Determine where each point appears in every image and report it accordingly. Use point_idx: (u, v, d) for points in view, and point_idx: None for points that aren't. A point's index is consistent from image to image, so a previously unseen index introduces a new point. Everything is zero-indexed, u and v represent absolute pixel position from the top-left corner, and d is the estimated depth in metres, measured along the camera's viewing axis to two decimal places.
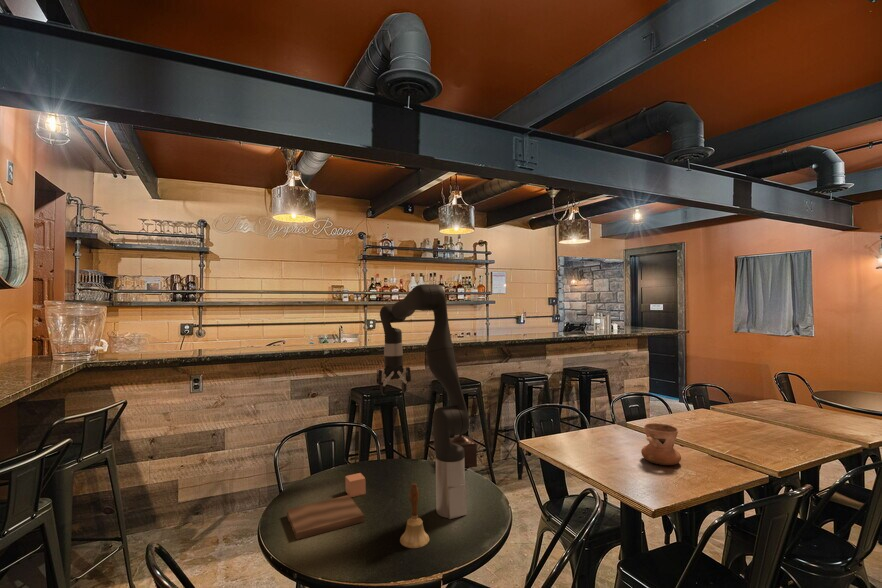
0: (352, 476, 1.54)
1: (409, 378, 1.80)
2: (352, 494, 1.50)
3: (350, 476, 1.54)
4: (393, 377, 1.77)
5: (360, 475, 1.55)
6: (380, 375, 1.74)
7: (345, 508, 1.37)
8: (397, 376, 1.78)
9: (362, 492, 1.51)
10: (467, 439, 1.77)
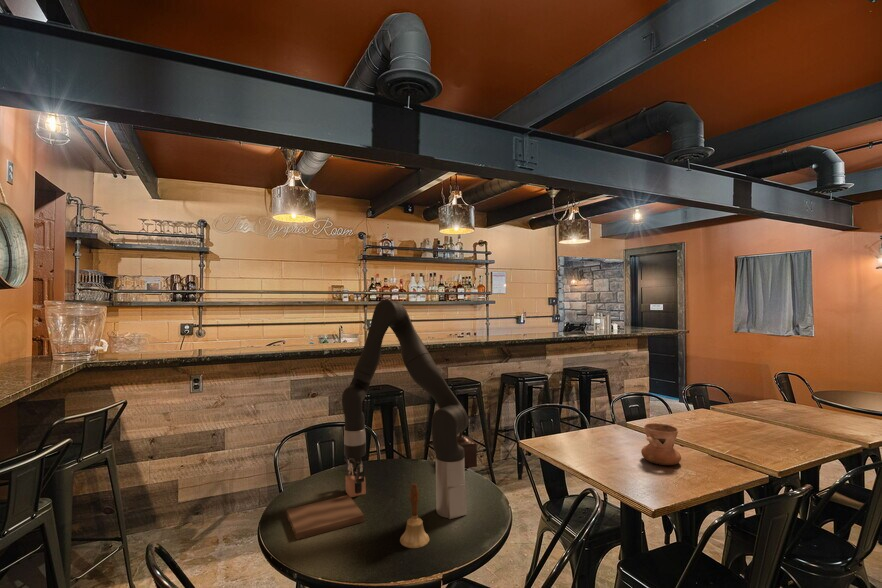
0: (352, 476, 1.54)
1: None
2: (352, 494, 1.50)
3: (350, 476, 1.54)
4: None
5: None
6: None
7: (345, 508, 1.37)
8: None
9: (362, 492, 1.51)
10: (467, 439, 1.77)
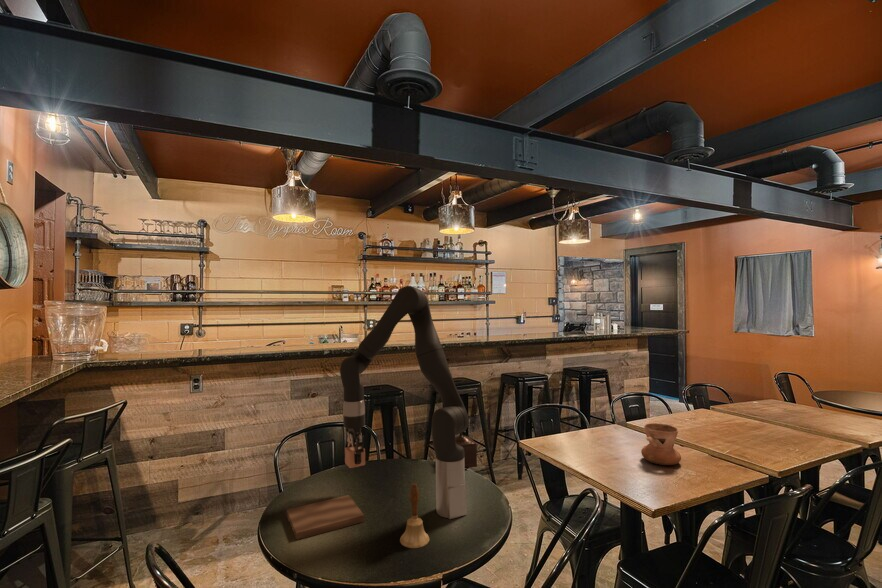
0: (352, 447, 1.54)
1: None
2: (352, 465, 1.50)
3: (349, 447, 1.54)
4: None
5: None
6: None
7: (345, 508, 1.37)
8: None
9: (362, 463, 1.51)
10: (467, 439, 1.77)
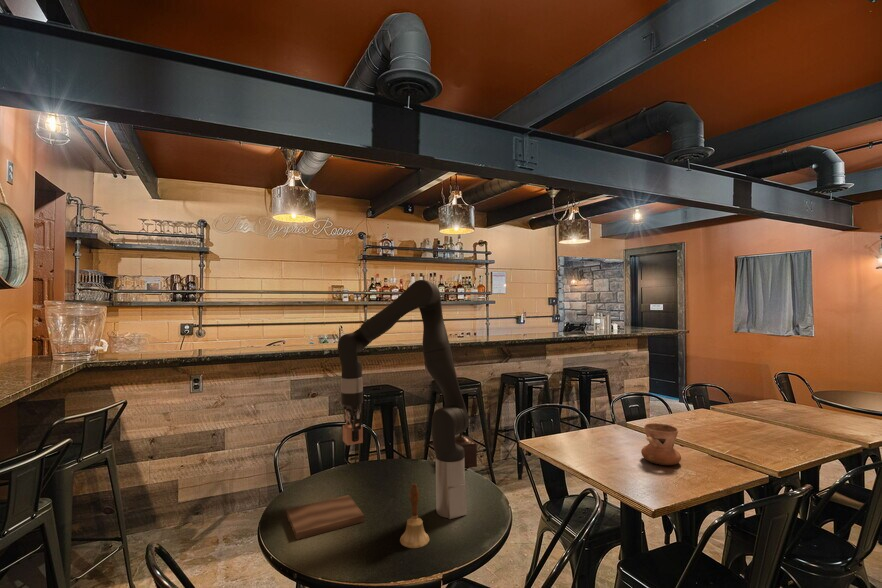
0: (349, 425, 1.53)
1: None
2: (349, 442, 1.49)
3: (347, 425, 1.53)
4: None
5: None
6: None
7: (345, 508, 1.37)
8: None
9: (359, 440, 1.50)
10: (467, 439, 1.77)
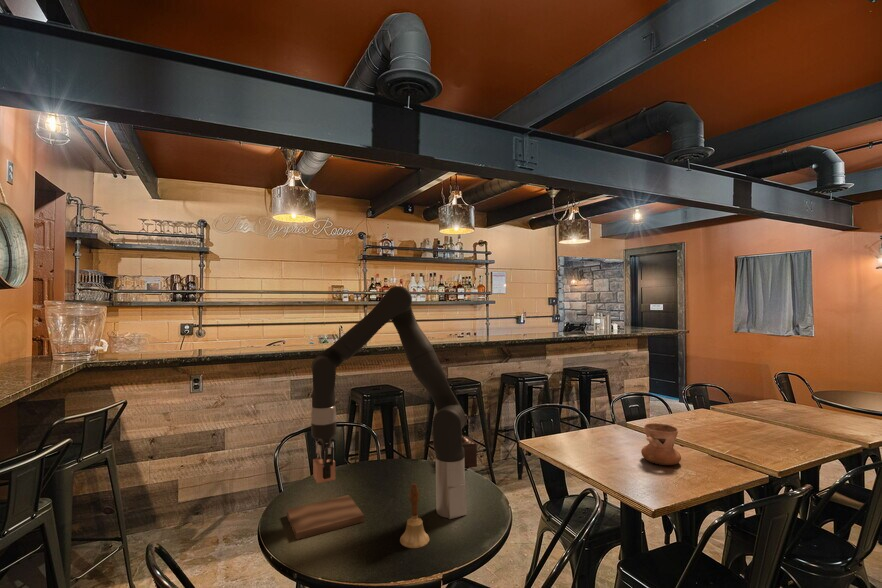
0: (321, 459, 1.36)
1: None
2: (319, 479, 1.32)
3: (318, 459, 1.36)
4: None
5: None
6: None
7: (345, 508, 1.37)
8: None
9: (331, 477, 1.34)
10: (467, 439, 1.77)
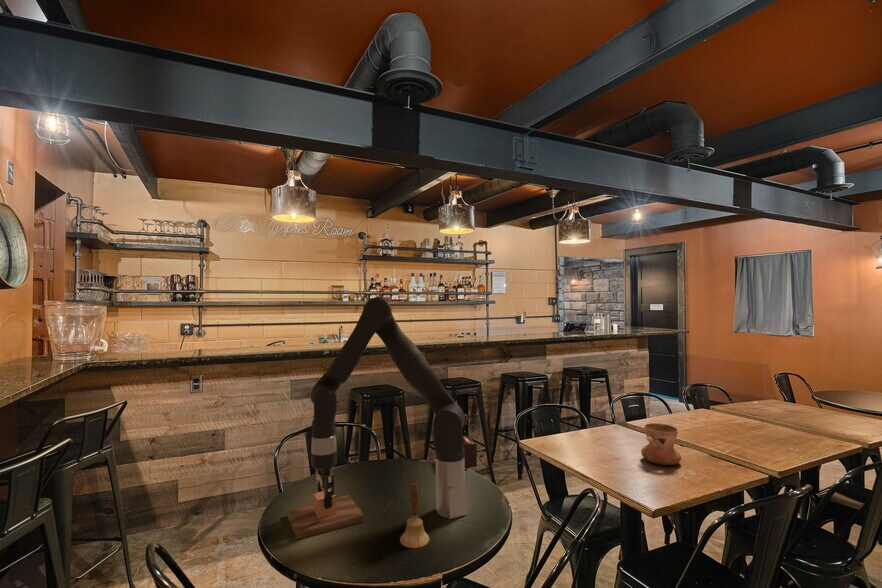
0: (321, 493, 1.36)
1: None
2: (320, 514, 1.32)
3: (319, 493, 1.36)
4: None
5: None
6: None
7: (345, 508, 1.37)
8: None
9: (332, 512, 1.33)
10: (467, 439, 1.77)
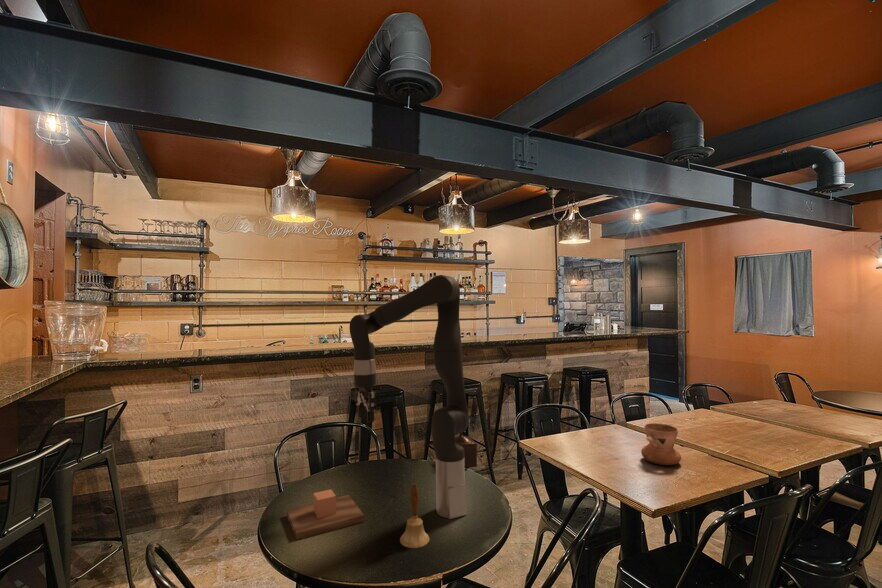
0: (321, 493, 1.36)
1: None
2: (320, 514, 1.32)
3: (319, 493, 1.36)
4: None
5: (330, 492, 1.36)
6: None
7: (345, 508, 1.37)
8: None
9: (332, 512, 1.33)
10: (467, 439, 1.77)
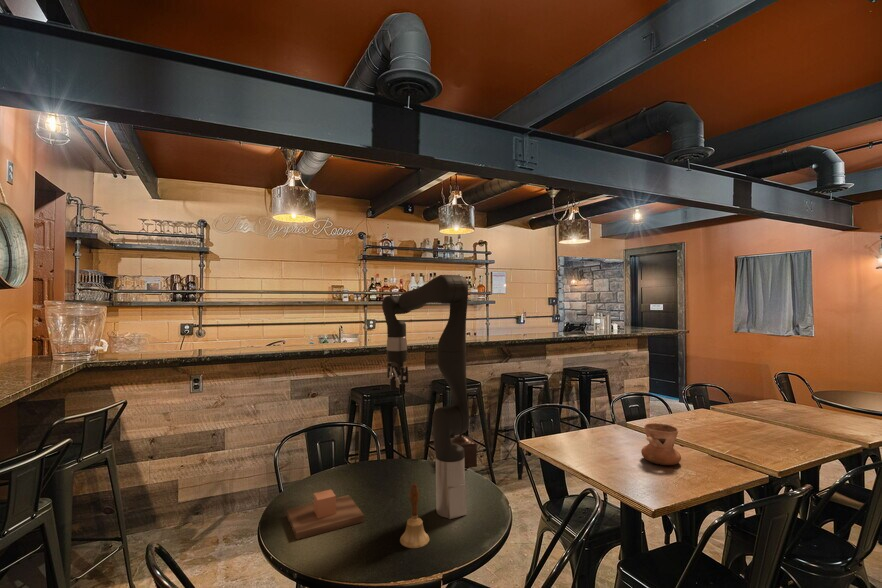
0: (321, 493, 1.36)
1: None
2: (320, 514, 1.32)
3: (319, 493, 1.36)
4: None
5: (330, 492, 1.36)
6: None
7: (345, 508, 1.37)
8: None
9: (332, 512, 1.33)
10: (467, 439, 1.77)
